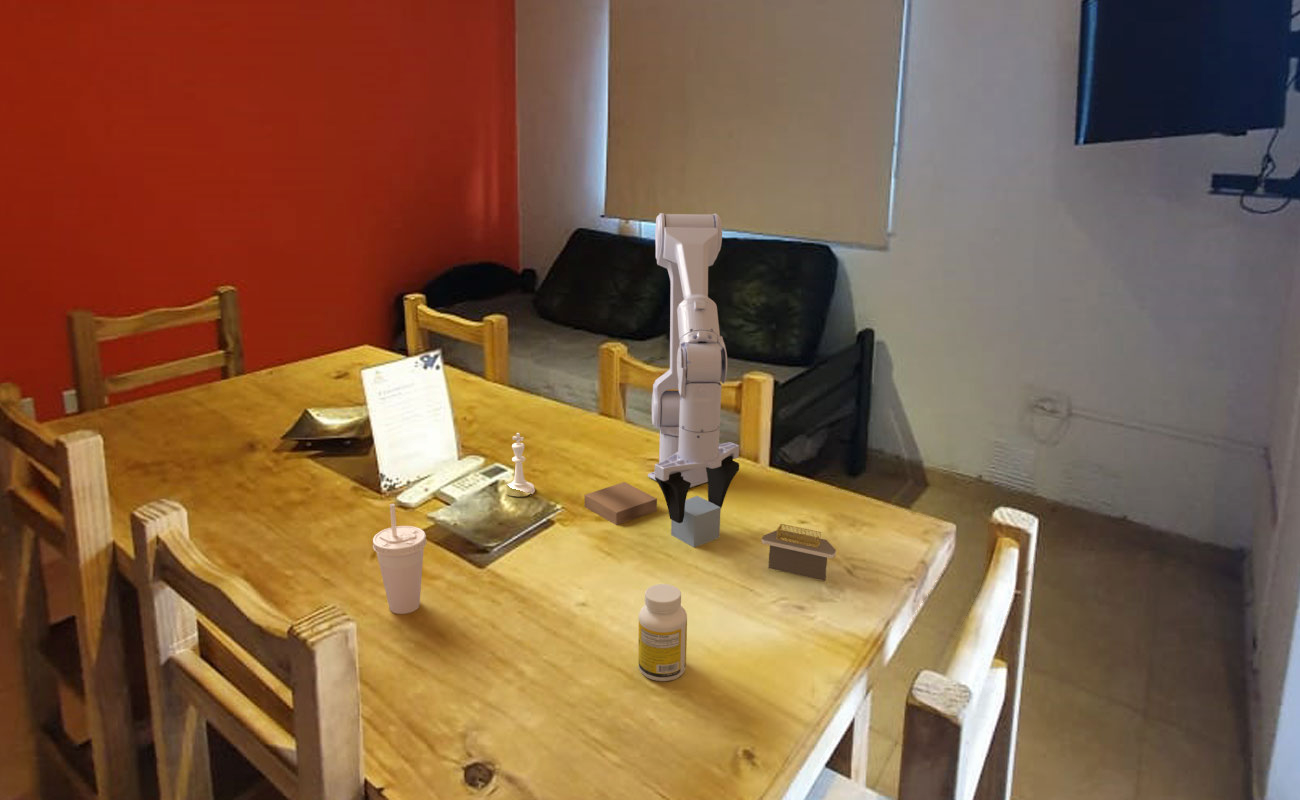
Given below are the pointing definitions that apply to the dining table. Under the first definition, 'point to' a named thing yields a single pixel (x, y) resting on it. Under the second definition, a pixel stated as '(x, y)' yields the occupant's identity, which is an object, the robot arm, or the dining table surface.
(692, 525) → the slate cube
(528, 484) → the chess piece
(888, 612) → the dining table surface
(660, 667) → the supplement bottle
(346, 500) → the dining table surface
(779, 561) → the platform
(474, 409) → the dining table surface
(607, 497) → the walnut block
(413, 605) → the smoothie
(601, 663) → the dining table surface
